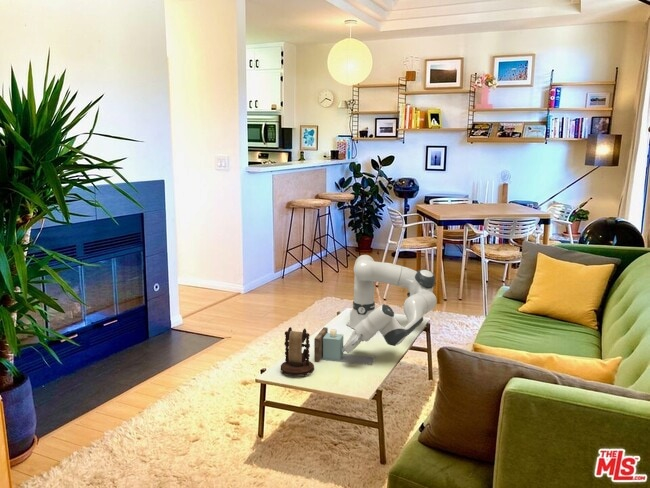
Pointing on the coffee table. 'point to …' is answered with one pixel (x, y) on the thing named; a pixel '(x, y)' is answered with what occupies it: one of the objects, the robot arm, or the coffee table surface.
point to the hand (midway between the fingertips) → (342, 349)
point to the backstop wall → (319, 344)
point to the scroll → (297, 354)
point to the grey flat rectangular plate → (355, 359)
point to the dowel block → (332, 345)
